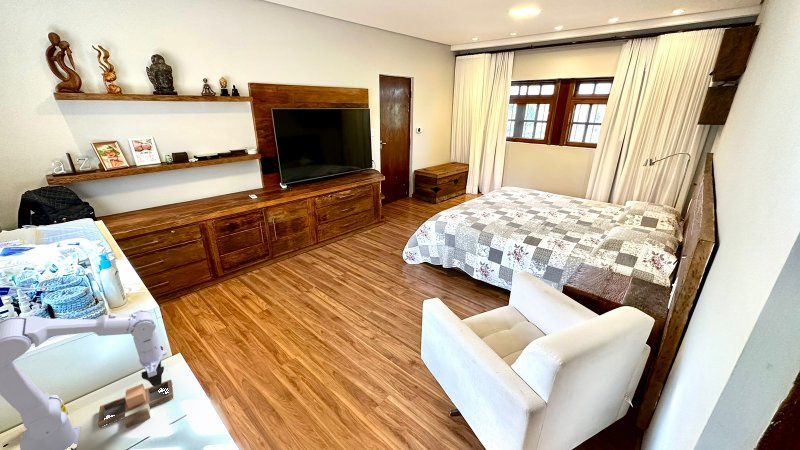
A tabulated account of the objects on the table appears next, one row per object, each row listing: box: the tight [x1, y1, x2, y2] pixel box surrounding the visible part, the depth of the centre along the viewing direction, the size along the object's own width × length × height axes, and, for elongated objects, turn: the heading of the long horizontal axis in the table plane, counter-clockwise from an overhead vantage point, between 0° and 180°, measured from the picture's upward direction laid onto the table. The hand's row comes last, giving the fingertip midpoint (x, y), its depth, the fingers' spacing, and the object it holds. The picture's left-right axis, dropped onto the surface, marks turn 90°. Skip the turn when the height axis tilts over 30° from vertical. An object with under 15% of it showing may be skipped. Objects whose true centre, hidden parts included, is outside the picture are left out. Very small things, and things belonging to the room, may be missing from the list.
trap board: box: [97, 379, 174, 428], centre depth 102 cm, size 19×11×4 cm, turn 127°
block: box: [124, 383, 146, 408], centre depth 103 cm, size 4×4×4 cm
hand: (157, 376), depth 104 cm, fingers open, 7 cm apart
